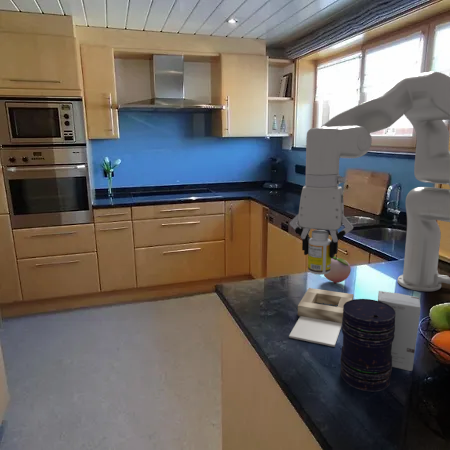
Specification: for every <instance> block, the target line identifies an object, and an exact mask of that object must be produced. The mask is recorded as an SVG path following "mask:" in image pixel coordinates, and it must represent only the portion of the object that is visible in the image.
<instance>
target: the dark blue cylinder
mask: <svg viewBox="0 0 450 450" xmlns="http://www.w3.org/2000/svg"><path fill="white" fill-rule="evenodd" d="M395 316H396V312H395V310H394V309H393V308H392V307H391V306H389V305H388V304H385V303H383V302H380V301H378V300H376V299H369V298H355V299H354V298H353V300H350V301H348V302H346V303H345V304H344V306H343V317H342V327H341V331H342V334H343V337H342V346H341V348H340V349H341V352H340V377H341V378H342V379H343V381H344V382H345V383H346V384H348V385H349V386H350V387H352V388H355V389H357V390H360V391H364V392H380V391H384V390H386V389H387V388H388V387H389V386H390V384H391V376H392V370H393V367H392V355H391V349H392V342H393V340H394V336H395V335H394V332H395Z"/></svg>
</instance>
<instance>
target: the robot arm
mask: <svg viewBox="0 0 450 450" xmlns="http://www.w3.org/2000/svg"><path fill="white" fill-rule="evenodd" d="M403 116H405V118H406V119H407V120H408V122H409V123H410V124H411V125H412V127H413V128H414V132H415V134H416V135H415V136H416V143H415V145H416V146H415V156H414V157H415V158H414V167H413V168H414V169H413V170H414V172H413V173H414V177H415V179H416V180H417V181H419V182H421V183H426V184H437V185H448V186H449V187H450V149H449V148H450V147H449V145H450V131H449V129H448V126H447V124H446V123H445V121H450V76H449V75H447V74H445V73H443V72H439V71H428V72H421V73H416V74H415V73H413V74H409V75H408V74H407V75H404V76H403V75H402V76H401V77H399V78H396V79H395V80H394V81H392V82H391V83H389V85H387V86H386V87H385V88H383V89H382V90H381V91H379V92H378V93H376V95H375V96H373V97H372V98H371V99H369V100H367V101H364V102H361V103H360V104H358V105H356V106H354V107H351V108H349V109H346V110H344V111H343V112H341V113H339V114H337V115H335V116H333V117H332V118H330V119H329V120H327V121H326V122H325V123H324V124H322V125H321V126H320V127H313V128H312V127H311V128H310V129H308V131H307V132H306V139H305V140H306V143H305V144H306V145H305V147H306V148H305V149H306V150H305V185H304V186H303V187H302V190H301V194H300V201H299V208H298V213H297V214H296V215H295V217H293V218H292V219H291V221H290V222H289V226H290V227H291V228H293V230H295V232H296V233H297V234H298V235H299V236H300V238H301V240H302V242H301V243H302V244H301V249H302V251H303V255H304V256H308V241H309V239H310V238H311V236H310V235H309V234H310V232H311V230H312V229H313V230H325V231H328V232H329V233H330V234H329V235H330V236H331V242H330V258H333V257H334V256H336V255H338V252H339V251H338V248H339V240H341V239H342V238H343V237H344V236H345V235H347V234H348V233H350V232H351V231H352V230H353V229H354V225H353V224H352V222H350V221H349V220H348V218H347V217H346V216H345V215H344V214H345V213H344V212H345V211H344V209H345V208H344V207H345V206H344V205H345V204H344V193H343V188H342V186H339V185H340V184H342V183H344V184H345V182H346V177H345V176H341V175H340V158H341V159H357V158H361V157H362V156H364V155H366V154H367V153H368V152H369V151H370V149H371V147H372V143H373V142H372V141H373V140H372V135H371V133H376V132H379V131H380V132H381V131H383V130H385V129H388V128H390V127H392V125H394V124H395V123H396V122H397V121H398V120H400V118H402V117H403ZM405 211H406V237H405V249H404V260H403V270H402V271H403V272H402V274H400V275H399V276H398V277H397V283H398V284H399V285H400V286H402V287H404V288H406V289H409V290H412V291H417V292H435V291H439V290H440V289H441V288H442V283H443V284H447V285H450V277H449V275H444V274H440V273H439V271H438V265H439V255H440V246H441V245H440V244H441V237H442V236H441V235H442V234H441V233H442V232H441V228H440V225H439V223H438V221H440V222H445V223H450V188H441V187H430V186H418V187H414V188H412V189H411V190H410V191H409V192H408V193H407V195H406V197H405ZM342 226H344V228H343V229H342V230H340V228H341V227H342ZM339 230H340V231H339Z"/></svg>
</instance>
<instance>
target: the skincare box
mask: <svg viewBox="0 0 450 450" xmlns="http://www.w3.org/2000/svg"><path fill="white" fill-rule="evenodd" d="M377 301H380V302H383V303H385V304H388V305H389V306H391V307H392V308H393V309H394V310H395V312H396V316H395V332H394V335H395V336H394V340H393V342H392V349H391V355H392V368H396V369H400V370H405V371H410V372H412V371H413V368H414V359H415V354H416V353H415V352H416V344H417V338H418V331H419V330H418V329H419V324H420V315H421V301H420V297H419V296H416V295H415V296H414V295H408V294H405V293H398V292H390V291H382V290H378V295H377Z"/></svg>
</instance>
